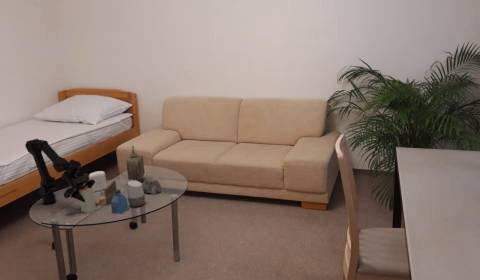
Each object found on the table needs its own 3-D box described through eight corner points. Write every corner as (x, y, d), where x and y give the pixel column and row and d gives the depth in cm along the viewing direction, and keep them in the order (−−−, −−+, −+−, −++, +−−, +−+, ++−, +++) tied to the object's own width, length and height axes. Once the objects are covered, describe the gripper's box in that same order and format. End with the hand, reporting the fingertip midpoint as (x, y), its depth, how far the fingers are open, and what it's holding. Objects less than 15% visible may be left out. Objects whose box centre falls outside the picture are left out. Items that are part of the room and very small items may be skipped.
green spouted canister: (132, 179, 292) (127, 144, 286) (145, 178, 293) (141, 143, 287) (129, 186, 278) (124, 149, 272) (143, 185, 279) (138, 148, 273)
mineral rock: (138, 191, 268) (136, 176, 265) (154, 187, 274) (152, 172, 272) (147, 196, 258) (145, 181, 255) (163, 192, 264) (161, 176, 261)
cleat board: (92, 205, 249) (89, 189, 247) (101, 196, 263) (99, 181, 260) (109, 204, 248) (106, 188, 246) (117, 196, 262) (115, 180, 260)
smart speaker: (141, 208, 241) (138, 184, 238) (126, 207, 243) (123, 184, 239) (147, 201, 250) (145, 178, 247) (133, 201, 252) (130, 178, 248)
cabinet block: (81, 211, 241) (78, 190, 238) (89, 207, 246) (85, 187, 243) (88, 212, 238) (85, 191, 235) (95, 209, 243) (92, 188, 240)
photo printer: (105, 187, 279) (103, 169, 276) (107, 189, 276) (105, 170, 273) (89, 191, 274) (87, 172, 271) (91, 192, 270) (88, 174, 267)
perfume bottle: (128, 209, 240) (125, 189, 238) (120, 213, 235) (118, 192, 232) (119, 207, 243) (116, 188, 240) (112, 212, 238) (109, 191, 235)
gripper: (63, 175, 230) (81, 197, 228) (90, 165, 246) (107, 186, 244) (56, 187, 236) (73, 209, 233) (83, 177, 252) (99, 197, 249)
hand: (88, 199), depth 240 cm, fingers closed on cabinet block, 5 cm apart
